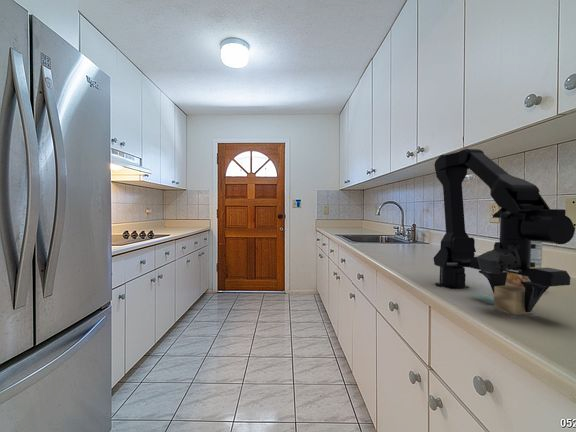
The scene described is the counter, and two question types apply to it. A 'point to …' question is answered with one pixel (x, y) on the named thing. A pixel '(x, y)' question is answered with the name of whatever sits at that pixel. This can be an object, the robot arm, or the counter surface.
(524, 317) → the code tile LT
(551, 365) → the counter surface
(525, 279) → the candy box
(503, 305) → the oak block
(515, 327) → the counter surface
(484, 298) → the rubber mat
